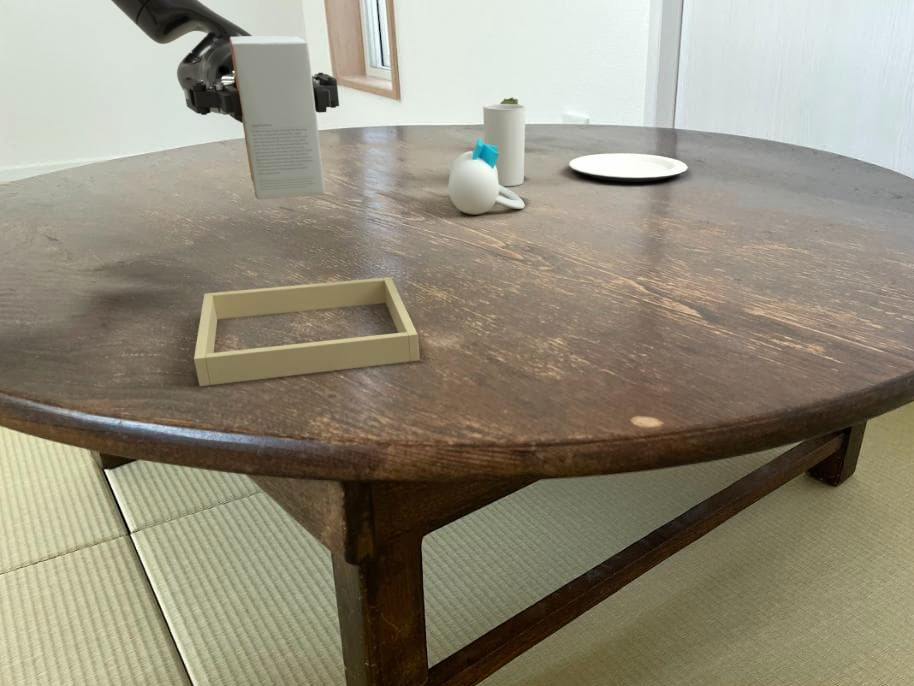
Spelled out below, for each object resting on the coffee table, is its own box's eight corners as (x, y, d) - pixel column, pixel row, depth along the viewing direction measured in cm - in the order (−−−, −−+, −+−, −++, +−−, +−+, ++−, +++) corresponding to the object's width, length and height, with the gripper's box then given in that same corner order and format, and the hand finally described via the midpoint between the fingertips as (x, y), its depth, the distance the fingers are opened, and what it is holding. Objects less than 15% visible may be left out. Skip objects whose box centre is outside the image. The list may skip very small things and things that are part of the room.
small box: (250, 181, 78) (228, 35, 72) (316, 177, 80) (300, 35, 74) (254, 200, 72) (230, 41, 66) (326, 195, 74) (309, 41, 68)
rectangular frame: (200, 392, 63) (193, 358, 62) (209, 322, 77) (204, 293, 75) (420, 366, 68) (417, 334, 67) (393, 304, 81) (390, 276, 80)
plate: (687, 164, 148) (688, 155, 147) (686, 189, 130) (687, 178, 129) (576, 159, 151) (576, 150, 150) (559, 183, 133) (560, 172, 132)
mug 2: (464, 144, 107) (465, 130, 118) (439, 207, 111) (443, 188, 121) (543, 180, 110) (537, 163, 120) (517, 239, 113) (514, 218, 124)
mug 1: (531, 185, 131) (531, 108, 126) (493, 188, 129) (491, 110, 123) (508, 173, 140) (508, 100, 134) (472, 176, 137) (470, 102, 132)
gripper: (319, 116, 88) (363, 140, 75) (180, 124, 82) (202, 152, 69) (310, 42, 85) (355, 54, 72) (164, 44, 79) (185, 58, 66)
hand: (280, 102), depth 71 cm, fingers closed on small box, 7 cm apart
